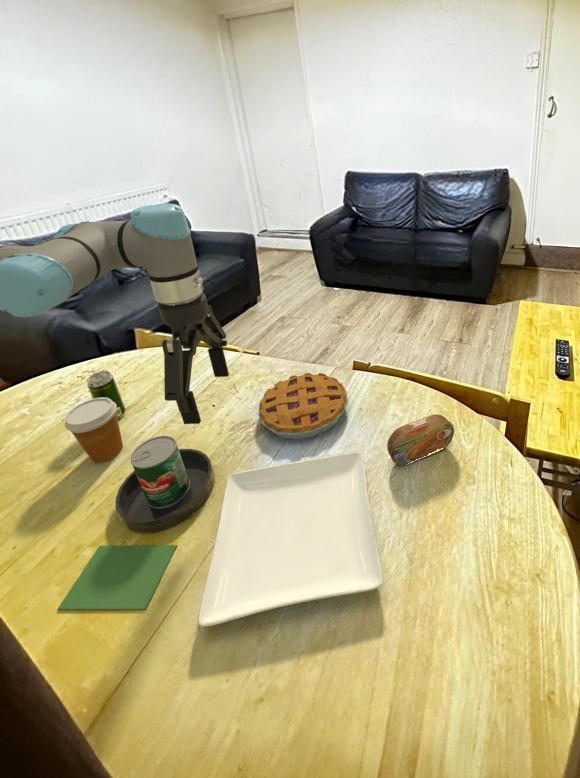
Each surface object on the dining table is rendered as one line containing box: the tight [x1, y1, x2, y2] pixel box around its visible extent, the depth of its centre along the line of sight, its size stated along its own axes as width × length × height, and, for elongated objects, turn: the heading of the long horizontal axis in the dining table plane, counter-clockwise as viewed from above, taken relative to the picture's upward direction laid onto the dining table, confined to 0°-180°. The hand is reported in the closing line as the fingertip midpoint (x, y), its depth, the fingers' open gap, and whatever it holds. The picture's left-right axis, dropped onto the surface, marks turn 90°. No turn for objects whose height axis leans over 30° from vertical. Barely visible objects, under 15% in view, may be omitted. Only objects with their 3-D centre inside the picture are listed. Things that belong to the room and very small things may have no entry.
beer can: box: [86, 370, 127, 420], centre depth 102 cm, size 5×5×12 cm
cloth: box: [57, 544, 178, 611], centre depth 68 cm, size 14×10×1 cm
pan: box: [114, 448, 216, 534], centre depth 82 cm, size 17×17×3 cm
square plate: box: [197, 450, 384, 628], centre depth 73 cm, size 27×27×4 cm
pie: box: [257, 372, 349, 440], centre depth 102 cm, size 22×22×5 cm
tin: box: [386, 413, 455, 466], centre depth 87 cm, size 15×3×8 cm, turn 114°
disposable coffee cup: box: [64, 397, 124, 464], centre depth 91 cm, size 10×10×12 cm
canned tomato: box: [129, 435, 190, 509], centre depth 80 cm, size 8×8×11 cm
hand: (208, 397), depth 79 cm, fingers open, 13 cm apart
